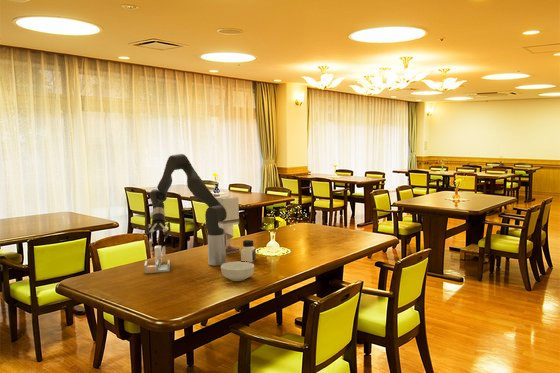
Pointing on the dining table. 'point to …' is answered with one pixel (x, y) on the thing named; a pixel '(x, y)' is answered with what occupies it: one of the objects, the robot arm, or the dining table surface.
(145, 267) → the slot rack
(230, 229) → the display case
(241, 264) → the cereal bowl
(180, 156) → the robot arm
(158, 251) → the panel
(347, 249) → the dining table surface
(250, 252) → the medicine bottle
